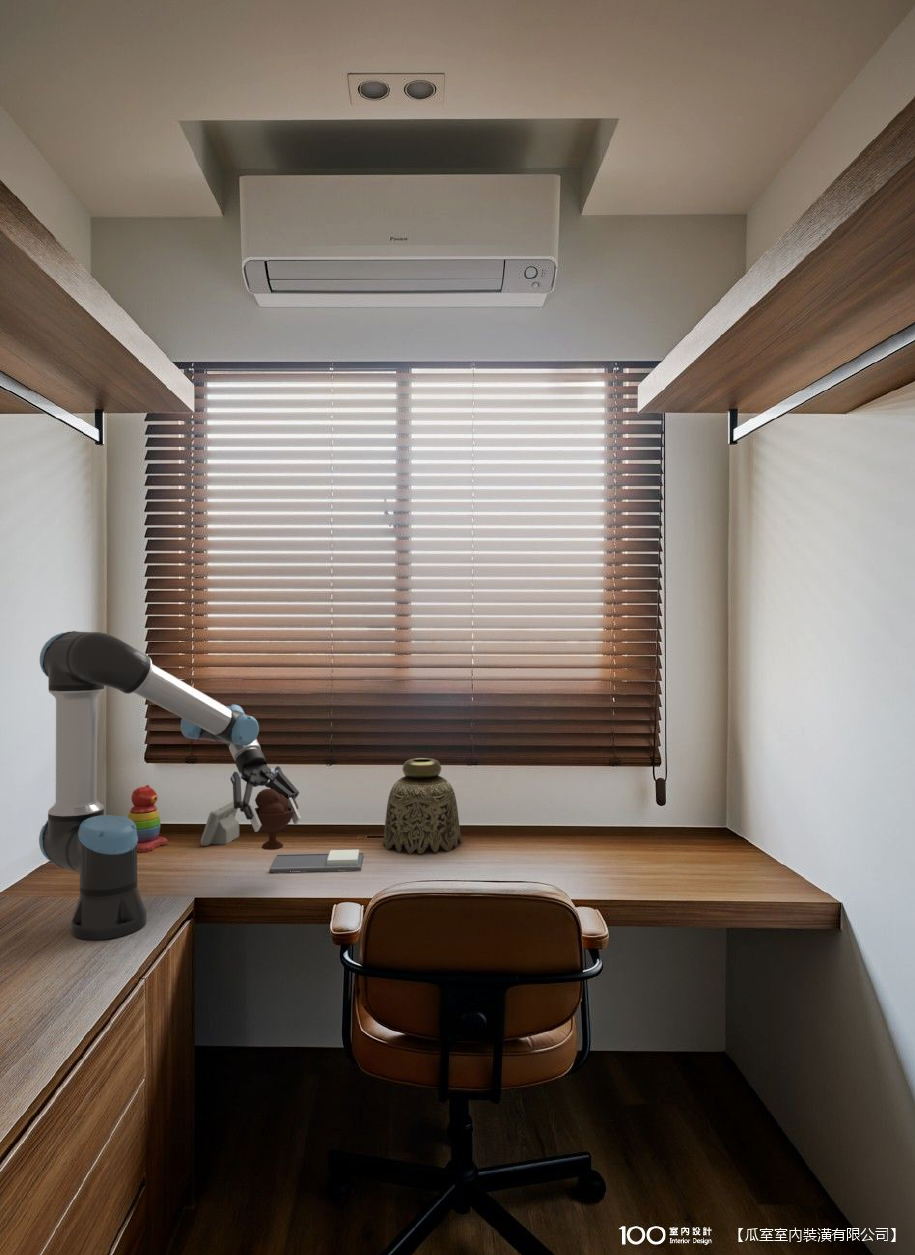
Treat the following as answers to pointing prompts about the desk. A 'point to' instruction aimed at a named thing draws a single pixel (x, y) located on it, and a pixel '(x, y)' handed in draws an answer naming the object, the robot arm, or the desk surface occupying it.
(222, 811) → the digital clock
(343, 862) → the pale green flat block
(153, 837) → the stacking bear
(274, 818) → the ice cream bowl
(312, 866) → the tray
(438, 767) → the lamp shade
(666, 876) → the desk surface
